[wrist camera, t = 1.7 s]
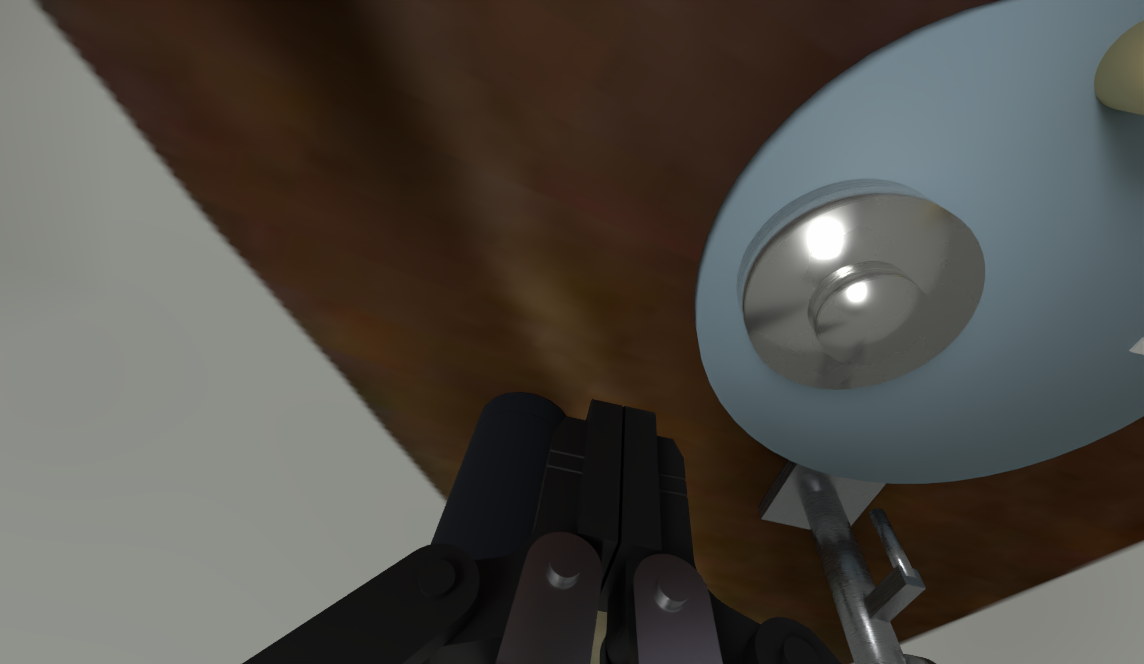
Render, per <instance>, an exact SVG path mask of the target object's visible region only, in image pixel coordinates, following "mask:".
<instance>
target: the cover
mask: <svg viewBox="0 0 1144 664" xmlns="http://www.w3.org/2000/svg"><path fill="white" fill-rule="evenodd" d="M984 283H985V261H984V256H983V252H982V249H981V247H980V244H979V242H978V240H977V238H976V237H975V235H974V234H973V232H972V231H971V229H970V228H969V227H968V226H967V225H966V224H965V223H964V222H963V221H962V220H961V219H959V218H958V217H956V216H955V215H954V214H952V213H951V212H949V211H948V210H946V209H945V208H943V207H942V206H940V205H939V204H937V203H936V202H934V201H933V200H931V199H930V198H928V197H926V196H925V195H923V194H922V193H920V192H919V191H917V190H915V189H913V188H911V187H909V186H907V185H904V184H900V183H897V182H894V181H888V180H882V179H854V180H845V181H841V182H836V183H832V184H829V185H826V186H823V187H820V188H817V189H815V190H812V191H810V192H808V193H806V194H804V195H802V196H800V197H798V198H797V199H795V200H793V201H792V202H790V203H788V204H787V205H786V206H784V207H783V208H782V209H780V210H779V211H778V212H776V213H775V214H774V215H773V216H772V217H771V218H770V219H769V220H768V221H767V222H766V223H765V224H764V225H763V226H762V227H761V228H760V230H759V231H758V232H757V233H756V235H755V236H754V238H753V239H752V241H751V242H750V244H749V245H748V247H747V249H746V251H745V253H744V255H743V257H742V260H741V263H740V266H739V270H738V275H737V283H736V293H737V301H738V305H739V308H740V312H741V315H742V318H743V321H744V324H745V327H746V330H747V333H748V336H749V339H750V341H751V343H752V345H753V347H754V350H755V351H756V352H757V354H758V355H759V357H760V358H761V359H762V360H763V361H764V362H765V363H766V364H767V366H769V367H770V368H771V369H772V370H774V371H775V372H776V373H778V374H780V375H781V376H783V377H785V378H787V379H789V380H791V381H794V382H796V383H799V384H802V385H806V386H809V387H815V388H821V389H834V390H840V389H855V388H863V387H868V386H872V385H877V384H880V383H884V382H887V381H890V380H893V379H895V378H898V377H900V376H903V375H905V374H907V373H909V372H911V371H913V370H915V369H917V368H919V367H921V366H922V365H924V364H925V363H927V362H928V361H930V360H932V359H933V358H934V357H936V356H937V355H938V354H939V353H941V352H942V351H943V350H944V349H946V348H947V347H948V346H949V345H950V344H951V343H952V342H953V341H954V340H955V339H956V338H957V337H958V335H959V334H960V333H961V332H962V331H963V330H964V328H965V327H966V325H967V324H968V322H969V321H970V319H971V318H972V316H973V314H974V312H975V310H976V308H977V306H978V304H979V302H980V299H981V296H982V293H983V289H984Z"/></svg>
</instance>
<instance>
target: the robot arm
mask: <svg viewBox="0 0 1144 664" xmlns="http://www.w3.org/2000/svg"><path fill="white" fill-rule="evenodd" d="M598 610H599V611H603V612H607V631H606V636H605V638H604V640H603V642H602V645H601V649H600V664H841V663H840V661H839V660H838V659H837V658H836V657H835V656H834V654H833V653H832V652H831V651H830V650H829V649H828V648H827V646H826V645H825V644H824V643H823V642H822V641H821V640H820V639H819V638H818V637H817V636H816V635H815V634H814V633H813V632H812V631H811V630H810V629H808V628H807V627H805V626H804V625H802V624H800V623H798V622H796V621H794V620H791V619H788V618H782V617H775V618H771V619H768V620H767V621H765V622H764V623H763V624H762V625H761V624H759V623H757V622H755V621H753V620H752V619H750V618H748V617H746V616H744V615H743V614H741V613H739V612H737V611H735V610H734V609H732V608H730V607H728V606H727V605H725V604H724V603H722V602H721V601H720V600H718V599H717V598H716V597H715V596H714V595H713V594H712V593H711V592H710V591H709V590H708V588H707V586H706V584H705V582H704V580H703V578H702V577H701V575H700V574H699V573H698V572H697V570H696V567H695V563H694V556H693V547H692V537H691V527H690V517H689V507H688V498H687V488H686V481H685V468H684V458H683V456H682V455H681V453H680V451H679V449H678V447H677V446H676V444H675V442H674V440H673V439H669V438H665V437H660V436H657V432H656V415H655V413H654V412H650V411H645V410H640V409H636V408H631V407H627V406H624V407H622V406H621V405H617V404H612V403H608V402H603V401H598V400H594V399H592V401H591V404H590V407H589V411H588V414H587V418H586V420H581V419H577V418H572V417H567V416H566V417H565V418H564V420H563V421H562V422H561V423H560V424H559V425H558V427H557V428H556V429H555V430H554V434H553V438H552V443H551V447H550V451H549V456H548V460H547V464H546V468H545V473H544V478H543V483H542V487H541V493H540V497H539V502H538V507H537V512H536V517H535V522H534V527H533V532H532V535H531V537H530V538H529V540H528V541H527V542H526V543H525V544H524V545H523V546H522V547H521V548H519V549H518V550H517V551H515V552H513V553H511V554H508V555H505V556H501V557H496V558H487V559H479V560H473V558H472V557H471V556H470V555H469V554H468V553H467V552H466V551H464V550H463V549H461V548H459V547H457V546H454V545H450V544H443V543H440V544H431V545H427V546H425V547H422V548H420V549H418V550H416V551H414V552H413V553H411V554H410V555H408V556H407V557H405V558H404V559H402V560H400V561H399V562H397V563H396V564H394V565H393V566H391V567H390V568H388V569H387V570H385V571H383V572H382V573H380V574H379V575H377V576H376V577H374V578H373V579H371V580H370V581H368V582H367V583H365V584H364V585H362V586H360V587H359V588H357V589H356V590H354V591H353V592H351V593H350V594H348V595H347V596H345V597H344V598H342V599H341V600H339V601H337V602H336V603H335V604H333V605H331V606H330V607H328V608H327V609H325V610H324V611H322V612H321V613H319V614H318V615H316V616H314V617H313V618H311V619H310V620H308V621H307V622H305V623H304V624H302V625H301V626H299V627H298V628H296V629H295V630H293V631H292V632H290V633H289V634H287V635H285V636H284V637H282V638H281V639H279V640H278V641H276V642H275V643H273V644H272V645H270V646H269V647H267V648H265V649H264V650H262V651H261V652H259V653H258V654H256V655H255V656H254V657H252V658H250V659H249V660H247V661H246V662H244V663H243V664H590V662H591V654H592V647H593V640H594V633H595V626H596V619H597V612H598Z"/></svg>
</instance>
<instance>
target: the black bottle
mask: <svg viewBox="0 0 1144 664" xmlns="http://www.w3.org/2000/svg"><path fill="white" fill-rule="evenodd" d="M565 417H566V416H565V415H564V413H563V412H562V411H561V409H560V408H558V407H557V406H556V405H555V404H553V403H552V402H551V401H549V400H547V399H545V398H542V397H540V396H538V395H535V394H529V393H523V392H517V393H506V394H504V395H501V396H498V397H496V398H494V399H493V400H491V401H490V402H489V403H488V404H487V405H485V407H484V409H483V411H482V413H481V415H480V418H479V420H478V423H477V426H476V428H475V431H474V434H473V436H472V439H471V441H470V444H469V446H468V449H467V451H466V454H465V457H464V459H463V462H462V464H461V467H460V470H459V472H458V475H457V477H456V480H455V483H454V485H453V488H452V490H451V493H450V495H449V498H448V501H447V503H446V506H445V509H444V511H443V514H442V516H441V519H440V521H439V524H438V527H437V529H436V532H435V534H434V537H433V540H432V542H431V544H440V543H443V544H450V545H454V546H457V547H459V548H461V549H463V550H464V551H466V552H467V553H468V554H469V555H470V556H471V557H472V558H473V560H479V559H487V558H496V557H501V556H505V555H508V554H511V553H513V552H515V551H517V550H518V549H519V548H521V547H522V546H523V545H524V544H525V543H526V542H527V541H528V540H529V538H530V537H531V535H532V532H533V527H534V522H535V517H536V512H537V507H538V502H539V497H540V493H541V487H542V483H543V478H544V473H545V468H546V464H547V460H548V456H549V451H550V447H551V443H552V438H553V434H554V430H555V429H556V428H557V427H558V425H559V424H560V423H561V422H562V421H563V420H564V418H565Z"/></svg>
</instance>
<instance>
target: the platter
mask: <svg viewBox="0 0 1144 664" xmlns="http://www.w3.org/2000/svg"><path fill="white" fill-rule="evenodd" d="M854 179H882V180H888V181H894V182H897V183H900V184H904V185H907V186H909V187H911V188H913V189H915V190H917V191H919V192H920V193H922V194H923V195H925V196H926V197H928V198H930V199H931V200H933V201H934V202H936V203H937V204H939V205H940V206H942V207H943V208H945V209H946V210H948V211H949V212H951V213H952V214H954V215H955V216H956V217H958V218H959V219H961V220H962V221H963V222H964V223H965V224H966V225H967V226H968V227H969V228H970V229H971V231H972V232H973V234H974V235H975V237H976V238H977V240H978V242H979V244H980V247H981V249H982V252H983V256H984V261H985V283H984V289H983V293H982V296H981V299H980V302H979V304H978V306H977V308H976V310H975V312H974V314H973V316H972V318H971V319H970V321H969V322H968V324H967V325H966V327H965V328H964V330H963V331H962V332H961V333H960V334H959V335H958V337H957V338H956V339H955V340H954V341H953V342H952V343H951V344H950V345H949V346H948V347H947V348H946V349H944V350H943V351H942V352H941V353H939V354H938V355H937V356H936V357H934V358H933V359H932V360H930V361H928V362H927V363H925V364H924V365H922V366H921V367H919V368H917V369H915V370H913V371H911V372H909V373H907V374H905V375H903V376H900V377H898V378H895V379H893V380H890V381H887V382H884V383H880V384H877V385H872V386H868V387H863V388H855V389H840V390H834V389H821V388H815V387H809V386H806V385H802V384H799V383H796V382H794V381H791V380H789V379H787V378H785V377H783V376H781V375H780V374H778V373H776V372H775V371H774V370H772V369H771V368H770V367H769V366H767V364H766V363H765V362H764V361H763V360H762V359H761V358H760V357H759V355H758V354H757V352H756V351H755V350H754V347H753V345H752V343H751V341H750V339H749V336H748V333H747V330H746V327H745V324H744V321H743V318H742V315H741V312H740V308H739V305H738V301H737V293H736V283H737V275H738V270H739V266H740V263H741V260H742V257H743V255H744V253H745V251H746V249H747V247H748V245H749V244H750V242H751V241H752V239H753V238H754V236H755V235H756V233H757V232H758V231H759V230H760V228H761V227H762V226H763V225H764V224H765V223H766V222H767V221H768V220H769V219H770V218H771V217H772V216H773V215H774V214H775V213H776V212H778V211H779V210H780V209H782V208H783V207H784V206H786V205H787V204H788V203H790V202H792V201H793V200H795V199H797V198H798V197H800V196H802V195H804V194H806V193H808V192H810V191H812V190H815V189H817V188H820V187H823V186H826V185H829V184H832V183H836V182H841V181H845V180H854ZM694 302H695V325H696V330H697V336H698V342H699V348H700V353H701V359H702V362H703V365H704V368H705V371H706V374H707V377H708V379H709V382H710V384H711V386H712V388H713V390H714V392H715V393H716V395H717V397H718V399H719V401H720V402H721V404H722V405H723V406H724V408H725V409H726V410H727V412H728V413H729V414H730V415H731V417H732V418H733V419H734V421H735V422H737V423H738V424H739V425H740V426H741V427H742V428H743V429H744V430H745V431H746V432H747V433H748V434H749V435H750V436H751V437H753V438H754V439H756V440H757V441H758V442H760V443H761V444H763V445H764V446H765V447H767V448H768V449H770V450H771V451H773V452H775V453H777V454H779V455H781V456H783V457H785V458H786V459H788V460H790V461H792V462H795V463H797V464H800V465H802V466H805V467H808V468H810V469H813V470H816V471H819V472H823V473H827V474H830V475H834V476H838V477H842V478H848V479H854V480H860V481H866V482H878V483H891V484H926V483H937V482H949V481H958V480H965V479H971V478H977V477H983V476H989V475H993V474H997V473H1002V472H1006V471H1010V470H1014V469H1019V468H1022V467H1025V466H1029V465H1032V464H1035V463H1038V462H1042V461H1045V460H1048V459H1051V458H1054V457H1057V456H1059V455H1062V454H1065V453H1067V452H1070V451H1072V450H1075V449H1077V448H1080V447H1083V446H1085V445H1088V444H1090V443H1092V442H1094V441H1096V440H1098V439H1100V438H1103V437H1105V436H1107V435H1109V434H1111V433H1113V432H1115V431H1117V430H1120V429H1122V428H1123V427H1125V426H1127V425H1129V424H1130V423H1132V422H1134V421H1136V420H1138V419H1139V418H1141V417H1143V416H1144V0H999V1H995V2H992V3H988V4H985V5H981V6H978V7H974V8H970V9H967V10H963V11H961V12H958V13H956V14H953V15H951V16H948V17H946V18H943V19H941V20H938V21H936V22H933V23H931V24H928V25H926V26H924V27H921V28H919V29H916V30H914V31H912V32H910V33H908V34H906V35H904V36H903V37H901V38H899V39H897V40H895V41H893V42H891V43H890V44H888V45H886V46H884V47H882V48H880V49H878V50H877V51H875V52H873V53H871V54H869V55H868V56H866V57H865V58H863V59H862V60H860V61H859V62H857V63H856V64H854V65H853V66H851V67H850V68H848V69H847V70H846V71H844V72H843V73H841V74H840V75H838V76H837V77H835V78H834V79H832V80H831V81H829V82H828V83H827V84H826V85H824V86H823V87H822V88H821V89H820V90H819V91H817V92H816V93H815V94H814V95H813V96H811V97H810V98H809V99H808V100H807V101H806V102H804V103H803V104H802V105H801V106H800V107H798V108H797V109H796V110H795V111H794V112H793V113H792V114H791V115H790V116H789V117H788V118H787V119H786V120H785V121H784V122H783V123H782V124H781V125H780V126H779V127H778V128H777V129H776V130H775V131H774V132H773V133H772V135H771V136H770V137H769V138H768V139H767V140H766V141H765V142H764V143H763V144H762V145H761V147H760V148H759V149H758V151H757V152H756V153H755V155H754V156H753V157H752V159H751V160H750V161H749V162H748V164H747V165H746V166H745V168H744V169H743V170H742V172H741V173H740V174H739V176H738V177H737V179H736V181H735V182H734V184H733V186H732V187H731V189H730V191H729V192H728V194H727V196H726V197H725V199H724V201H723V202H722V204H721V206H720V208H719V210H718V213H717V215H716V217H715V219H714V222H713V224H712V226H711V228H710V231H709V233H708V235H707V238H706V241H705V245H704V248H703V252H702V255H701V259H700V262H699V266H698V272H697V279H696V286H695V293H694Z"/></svg>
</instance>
